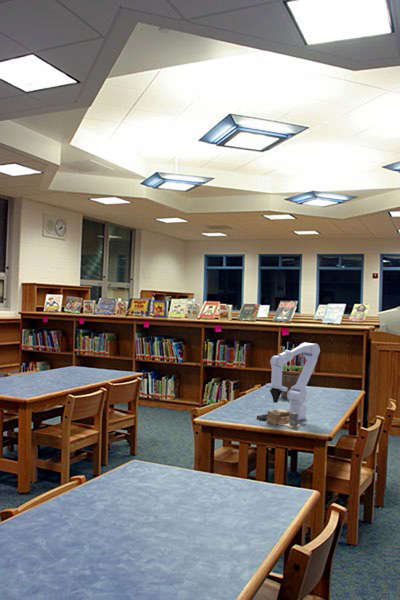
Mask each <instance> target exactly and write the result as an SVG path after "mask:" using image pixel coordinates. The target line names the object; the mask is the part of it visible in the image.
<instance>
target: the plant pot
mask: <svg viewBox="0 0 400 600" xmlns="http://www.w3.org/2000/svg"><path fill="white" fill-rule="evenodd" d="M300 374H301V373H289V372H287V373H284V372H282V386H283V387H287V391H282V393H281V394H280V396H281V398H285V399H288V398H287V393H288V391H289V390H290V389H291V387H292V386H294V385H296V383H297V381H298V379H299V377H300Z"/></svg>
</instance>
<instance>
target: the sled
mask: <svg viewBox="0 0 400 600" xmlns="http://www.w3.org/2000/svg"><path fill="white" fill-rule="evenodd" d="M277 425H278V426H283V427H287V428H290V429H291V428H299V427H301V424H299V420H298V413H294V412H293V413H290V422H289V417H288V416H284V415H280V414H279V415H277Z"/></svg>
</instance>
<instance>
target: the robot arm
mask: <svg viewBox="0 0 400 600" xmlns="http://www.w3.org/2000/svg"><path fill="white" fill-rule="evenodd" d="M320 352H321V349H320V345H319V344H318V343H311V342H305V341H304V342H302V343H300V344H299V345H298V346H296V347H294V348H293V349H291V350H288V349H285V350H284V351H283V352H281V353H278V354H277V355H273V356H272V357H271V358H270V360H269V364H270V367H271V382H270V383H265V388H269V392H270V394H271V398H272V402H273V403H274V404H277V403H278V402H279V398H280V396H281V393H282V391H287V387H283V386H282V373H283V368H284V367H285V364H287V363H288V362H290V361H292V360H293V359H294V357H295V356H298V355H300V354H303V356H304V358H305V360H306V361H305V364H304V365H303V368H302V370H301V372H300V373H299V374H300V377H299V379H298V381H297V383H296V385H294V386H292V387H291V389H290V390H289V391H288V393H287V398H286V399H287V400H288V402H289V410H288V411H290V413H293V412H294V413H298V421H300V420H306V419H308V417H307V405H306V403H305V402H306V398H307V394H308V391H307V390H306V387H307V385H308V383H309V381H310V378H311V376H312V374H313V371H314V369H315V367H316V365H317V362H318V358H319V355H320Z"/></svg>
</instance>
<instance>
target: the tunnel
mask: <svg viewBox="0 0 400 600" xmlns="http://www.w3.org/2000/svg"><path fill="white" fill-rule="evenodd" d="M267 414H268V415H267V420H266V423H268V424H271V425H274V426H275V425H276V426H277V425H278V424H277V415H284V416H288V417H289V422H290V411H289V410H286V409H283V408H281V409H280V408H279V409H272V410H267Z"/></svg>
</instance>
